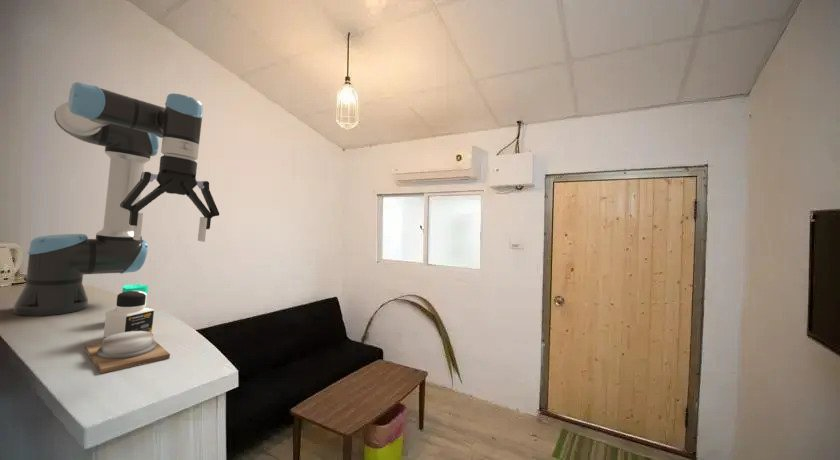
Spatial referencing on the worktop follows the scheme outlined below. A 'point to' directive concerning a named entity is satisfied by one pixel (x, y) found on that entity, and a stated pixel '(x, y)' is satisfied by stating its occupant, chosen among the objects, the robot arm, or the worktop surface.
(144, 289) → the candle
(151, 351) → the stub board
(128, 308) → the medicine bottle
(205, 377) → the worktop surface
